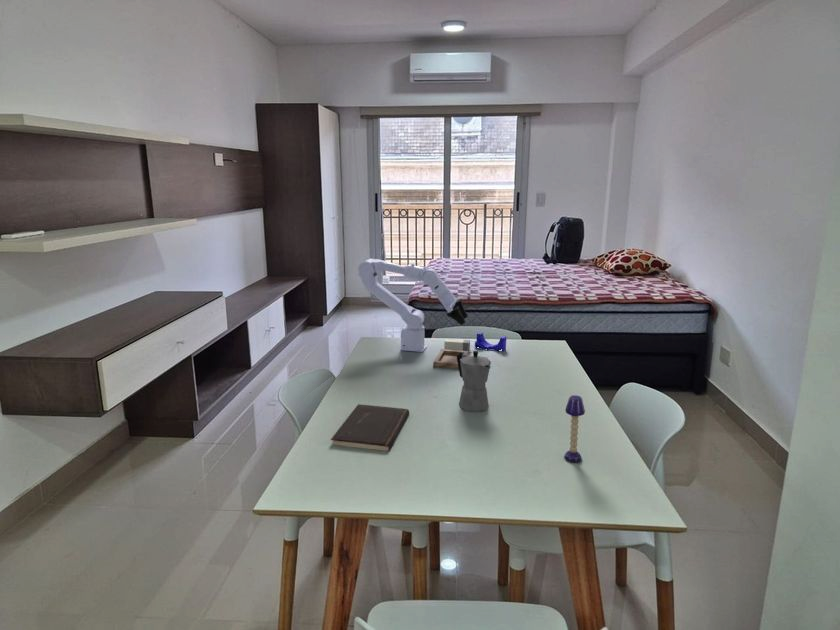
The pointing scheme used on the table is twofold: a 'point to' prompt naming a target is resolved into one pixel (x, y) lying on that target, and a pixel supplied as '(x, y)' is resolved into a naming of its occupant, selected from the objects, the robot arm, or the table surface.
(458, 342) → the sleeve block
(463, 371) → the coffeepot
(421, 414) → the table surface
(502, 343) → the cable clip
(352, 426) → the hardcover book
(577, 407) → the toy lamp
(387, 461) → the table surface
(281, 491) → the table surface
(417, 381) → the table surface
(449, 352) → the tray
